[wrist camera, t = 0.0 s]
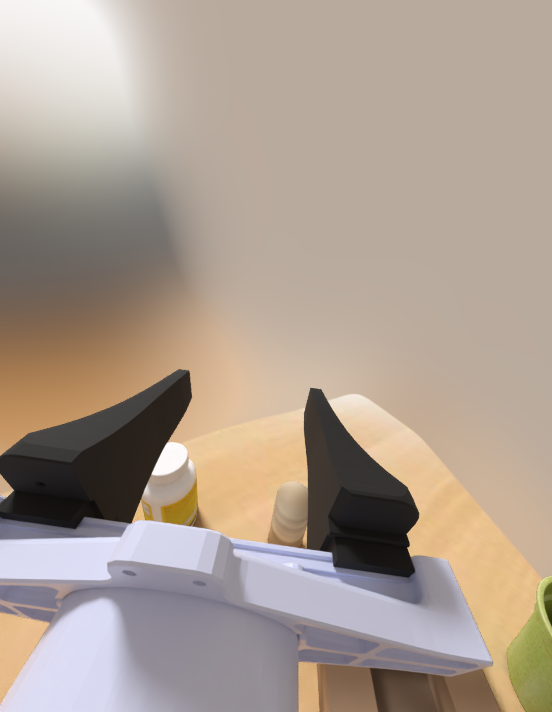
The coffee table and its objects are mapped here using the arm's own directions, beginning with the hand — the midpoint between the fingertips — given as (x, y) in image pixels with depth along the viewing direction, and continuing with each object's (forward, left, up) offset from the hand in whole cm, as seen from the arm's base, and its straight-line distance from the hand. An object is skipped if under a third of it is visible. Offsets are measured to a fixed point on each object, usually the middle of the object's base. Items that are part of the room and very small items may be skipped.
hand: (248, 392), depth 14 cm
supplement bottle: (+4, +8, -22) cm, 24 cm away
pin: (+3, -5, -22) cm, 22 cm away
